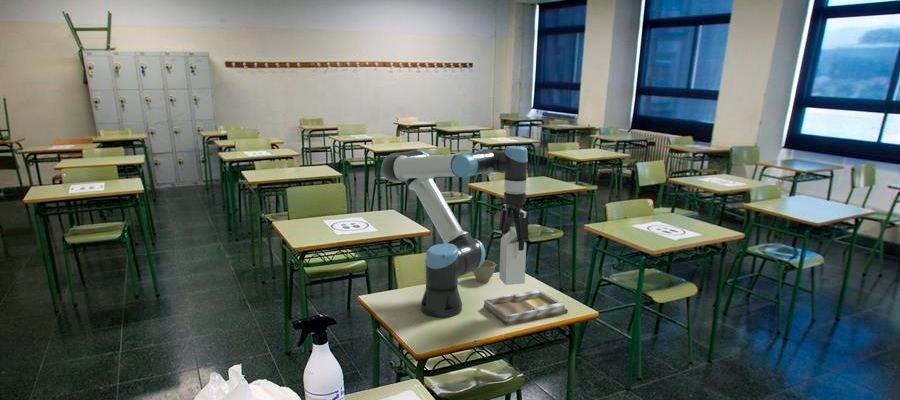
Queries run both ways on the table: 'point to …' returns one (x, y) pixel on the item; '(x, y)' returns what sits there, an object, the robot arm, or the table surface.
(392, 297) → the table surface
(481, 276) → the flower pot
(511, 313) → the divided compartment tray
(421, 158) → the robot arm
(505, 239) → the milk carton
